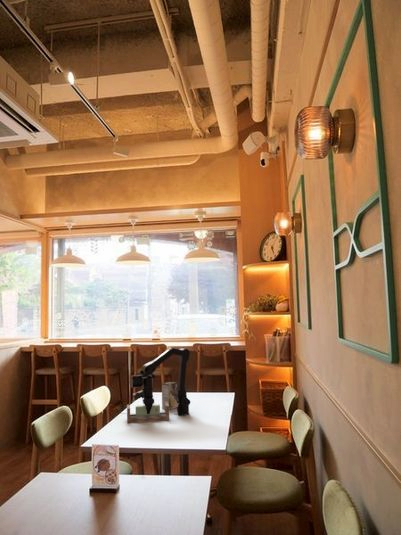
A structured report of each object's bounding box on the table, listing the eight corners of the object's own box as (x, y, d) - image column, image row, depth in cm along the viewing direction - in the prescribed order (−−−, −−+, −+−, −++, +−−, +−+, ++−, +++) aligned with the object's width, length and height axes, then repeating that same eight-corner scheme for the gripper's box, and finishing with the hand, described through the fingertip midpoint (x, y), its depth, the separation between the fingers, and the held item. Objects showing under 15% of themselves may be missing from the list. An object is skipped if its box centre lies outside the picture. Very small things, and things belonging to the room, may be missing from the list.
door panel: (159, 414, 250) (159, 404, 251) (159, 415, 247) (159, 405, 248) (135, 416, 248) (135, 405, 248) (135, 417, 245) (135, 406, 245)
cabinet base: (167, 416, 254) (167, 402, 255) (169, 420, 244) (169, 406, 245) (127, 418, 250) (127, 404, 251) (127, 423, 240) (127, 408, 241)
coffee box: (171, 406, 282) (170, 381, 284) (178, 407, 278) (178, 382, 280) (161, 408, 275) (161, 383, 276) (169, 409, 271) (168, 384, 273)
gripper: (133, 384, 257) (133, 410, 255) (134, 389, 239) (134, 418, 237) (151, 383, 259) (152, 409, 257) (154, 388, 241) (154, 416, 239)
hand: (148, 413), depth 248 cm, fingers closed on door panel, 3 cm apart
